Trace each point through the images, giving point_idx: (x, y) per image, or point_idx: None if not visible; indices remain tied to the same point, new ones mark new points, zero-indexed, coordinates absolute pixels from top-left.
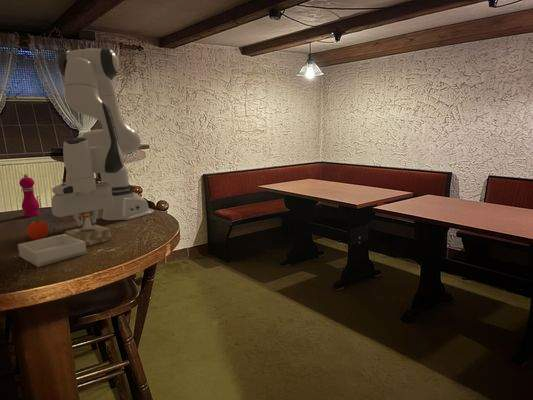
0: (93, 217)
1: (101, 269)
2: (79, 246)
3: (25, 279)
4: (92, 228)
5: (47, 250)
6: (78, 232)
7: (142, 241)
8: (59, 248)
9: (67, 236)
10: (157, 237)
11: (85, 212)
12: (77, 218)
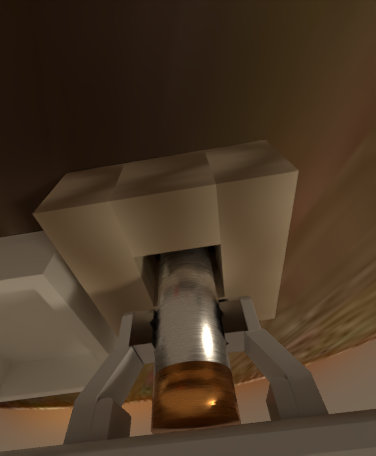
0: (249, 351)
1: (145, 398)
2: None
3: None
4: (222, 261)
5: (20, 397)
6: (127, 292)
7: (299, 333)
8: (55, 392)
9: (69, 321)
10: (352, 326)
11: (195, 428)
12: (116, 401)
